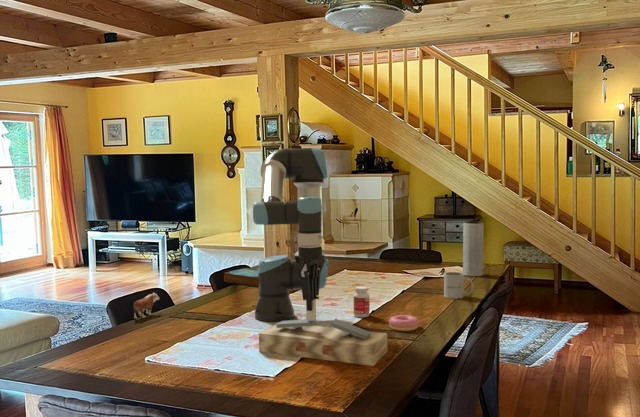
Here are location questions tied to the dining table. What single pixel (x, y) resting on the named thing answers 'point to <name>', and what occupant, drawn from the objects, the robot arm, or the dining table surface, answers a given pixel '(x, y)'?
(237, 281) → the book
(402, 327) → the doughnut
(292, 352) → the console
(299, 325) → the rocker
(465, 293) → the mug
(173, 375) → the dining table surface
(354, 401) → the dining table surface
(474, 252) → the vase
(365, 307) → the pill bottle
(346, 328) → the rocker
